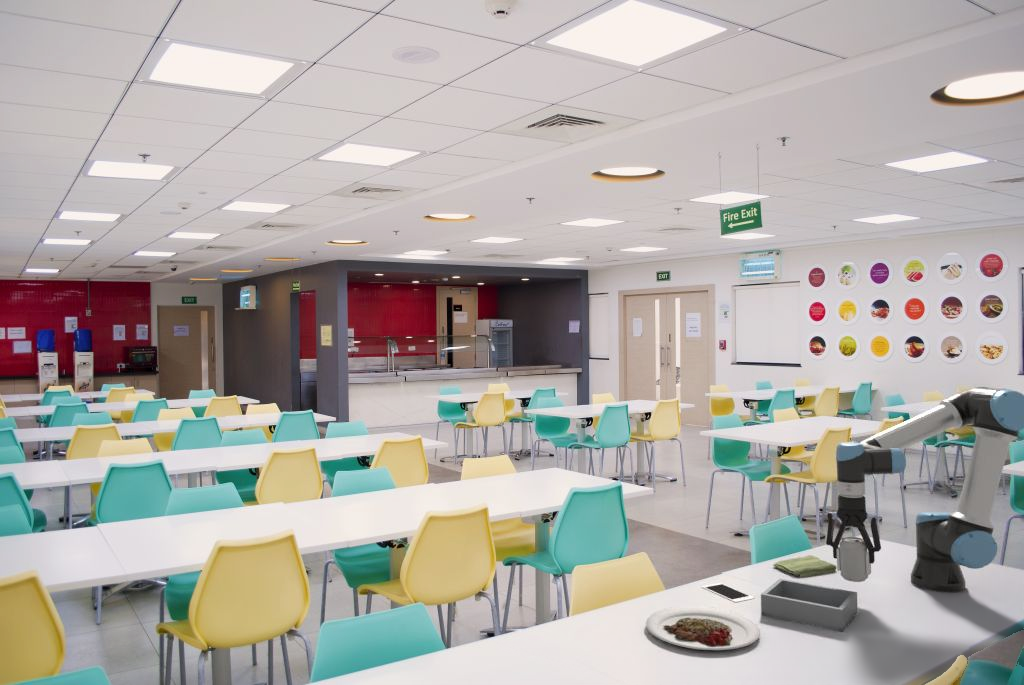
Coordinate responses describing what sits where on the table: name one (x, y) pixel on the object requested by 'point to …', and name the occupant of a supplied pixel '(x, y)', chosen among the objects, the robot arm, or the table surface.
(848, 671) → the table surface
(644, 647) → the table surface
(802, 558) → the washcloth
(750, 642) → the plated food
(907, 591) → the table surface
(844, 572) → the can
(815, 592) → the bin
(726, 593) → the cell phone
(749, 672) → the table surface
